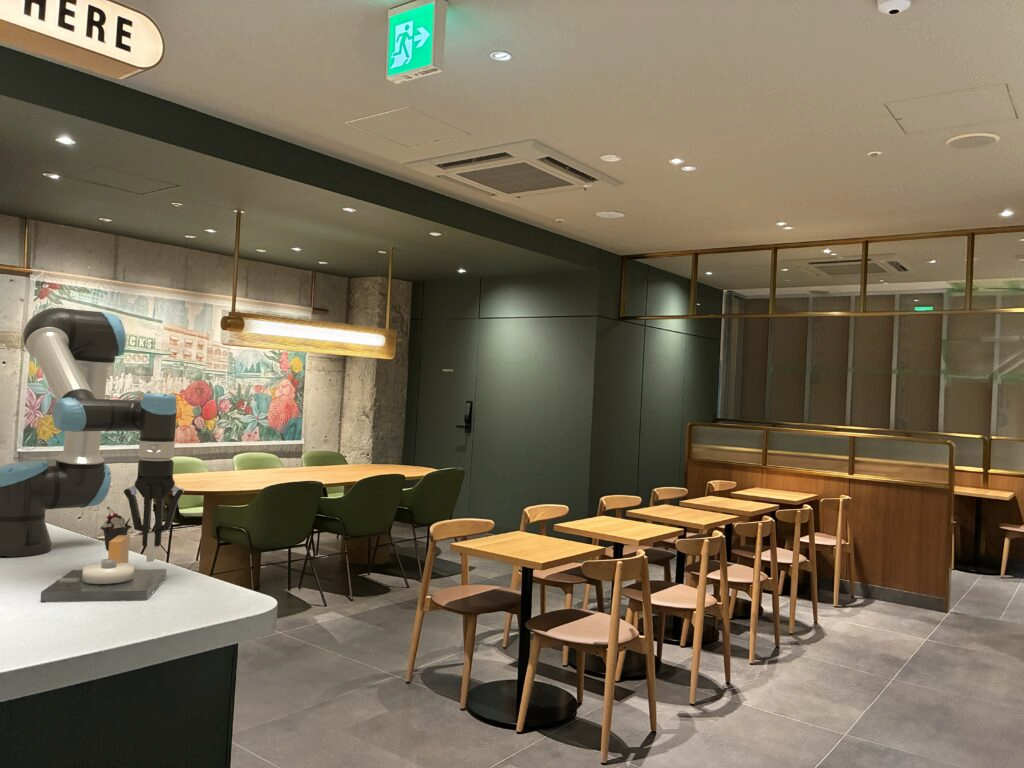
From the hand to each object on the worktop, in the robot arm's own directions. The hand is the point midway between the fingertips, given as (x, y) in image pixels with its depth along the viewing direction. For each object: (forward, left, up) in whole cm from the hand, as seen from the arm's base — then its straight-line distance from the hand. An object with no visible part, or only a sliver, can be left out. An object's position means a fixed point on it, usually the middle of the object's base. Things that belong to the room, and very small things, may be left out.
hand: (150, 560), depth 180 cm
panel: (+9, -7, -4) cm, 12 cm away
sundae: (-12, -11, -5) cm, 17 cm away
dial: (+6, -7, -2) cm, 9 cm away
